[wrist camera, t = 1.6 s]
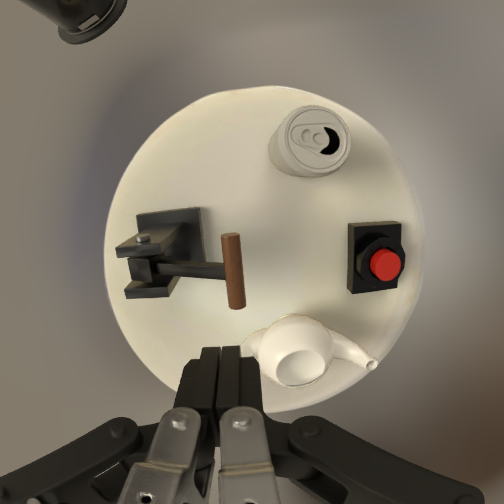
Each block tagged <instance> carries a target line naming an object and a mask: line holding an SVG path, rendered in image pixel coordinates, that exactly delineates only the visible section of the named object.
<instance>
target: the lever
mask: <svg viewBox="0 0 504 504" xmlns="http://www.w3.org/2000/svg"><path fill="white" fill-rule="evenodd" d="M221 243H222V252H223V261H224V263H214V262H193V261H173V260H166V259H165V253H164V252H163V253H162V254H158V255H146V256H135V257H129V258H127V260H128V265H129V270H130V274H131V279H132V280H135V281H143V282H151V283H153V282H155V281H157V280H158V279H160V278H162V277H163V276H165V275H170V276H181V277H193V278H206V279H219V280H226V287H227V295H228V303H229V308H231V309H234V310H239V309H243V308H244V307H246V296H245V286H244V275H243V265H242V254H241V243H240V234H239V233H226V234H223V235H221Z"/></svg>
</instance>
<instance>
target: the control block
mask: <svg viewBox="0 0 504 504" xmlns="http://www.w3.org/2000/svg"><path fill="white" fill-rule="evenodd" d="M381 249H388V250H390V251H392V252H393V253H395V254H397V255H398V257H399V258H400V262H401V267H400V270H399V273H398V274H397V276H396V277H395V278H393V279H392V280H389V281H383V280H381V279H379V278H378V277H377V276H376V275H374V274H373V273H372V271H371V268H370V261H371V258H372V256H373V255H374V254H375V253H376V252H377V251H378V250H381ZM404 265H405V252H404V250H403V248H402V246H401V223H398V222H395V221H382V222H365V223H349V224H348V275H347V289H348V290H349V291H350V292H351V293H352V294H358V293H365V292H373V291H380V290H386V289H393V288H397V284H398V278H399V276H400V275H401V273H402V271H403V269H404Z"/></svg>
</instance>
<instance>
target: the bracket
mask: <svg viewBox="0 0 504 504" xmlns="http://www.w3.org/2000/svg"><path fill="white" fill-rule="evenodd" d="M136 219H137V225H138V232H139V233H138V234H136V235H135V236H133V237H131V238H130V239H128V240H127V241H125V242H123V243H122V244H120V245H119V246H117V247H116V248H115V249H116V255H117V258H124V257H135V256H146V255H158V254H162V253H163V252H164V253H165V259H166V260H173V261H193V262H206V259H205V251H204V243H203V235H202V227H201V218H200V208H199V207H193V208H184V209H175V210H167V211H159V212H151V213H143V214H138V215H136ZM180 277H181V276H170V275H165V276H163V277H162V278H160V279H158V280H157V281H155V282H153V283H151V282H143V281H135V280H133V281H132V282H131V283H130V284H129V285H128V286H127V287H126V288H125V289H124V292H125V296H126V299H136V298H159V297H169V296H170V295H171V293H172V291H173V289H174V288H175V286H176V284H177V282H178V281H179V279H180Z"/></svg>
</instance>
